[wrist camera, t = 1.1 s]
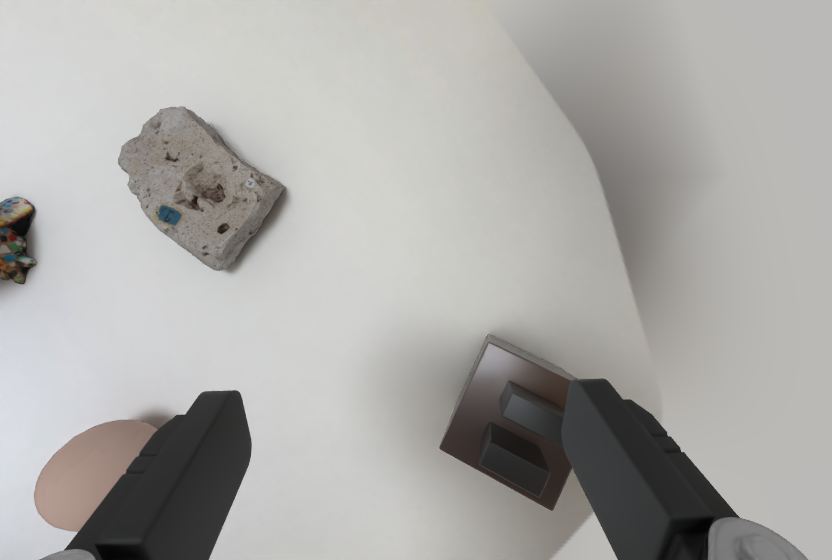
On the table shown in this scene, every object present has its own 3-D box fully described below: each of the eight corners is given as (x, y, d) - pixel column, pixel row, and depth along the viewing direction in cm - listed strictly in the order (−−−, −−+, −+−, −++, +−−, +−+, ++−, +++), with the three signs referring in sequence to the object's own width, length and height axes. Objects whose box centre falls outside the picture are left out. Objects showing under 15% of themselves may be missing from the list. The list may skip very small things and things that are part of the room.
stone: (290, 201, 29) (183, 285, 29) (310, 216, 35) (221, 286, 35) (180, 63, 29) (73, 146, 29) (219, 100, 35) (129, 169, 35)
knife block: (488, 333, 29) (488, 345, 15) (559, 367, 28) (629, 412, 14) (457, 400, 29) (428, 474, 15) (527, 437, 27) (566, 552, 14)
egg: (105, 449, 33) (-19, 490, 25) (161, 391, 33) (54, 415, 25) (150, 518, 32) (35, 586, 24) (210, 459, 32) (114, 508, 23)
